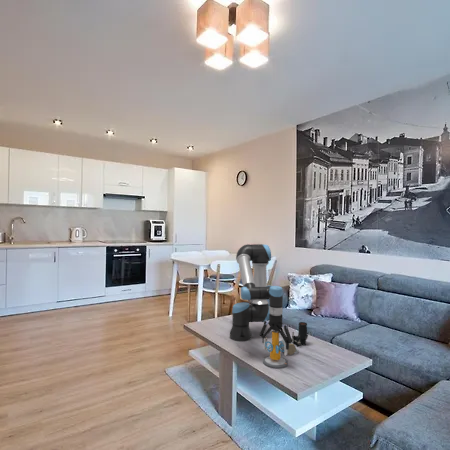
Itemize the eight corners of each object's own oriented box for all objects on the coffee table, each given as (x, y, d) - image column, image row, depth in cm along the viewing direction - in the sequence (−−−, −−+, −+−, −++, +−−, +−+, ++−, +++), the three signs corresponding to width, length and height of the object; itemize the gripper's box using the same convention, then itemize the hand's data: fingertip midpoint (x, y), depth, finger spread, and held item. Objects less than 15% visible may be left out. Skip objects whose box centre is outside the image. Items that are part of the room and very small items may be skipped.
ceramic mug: (285, 356, 182) (286, 343, 182) (279, 351, 190) (279, 338, 190) (301, 354, 185) (301, 341, 185) (294, 349, 193) (294, 337, 193)
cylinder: (263, 353, 179) (264, 328, 179) (281, 353, 180) (281, 327, 180) (268, 363, 167) (268, 335, 167) (287, 362, 168) (287, 335, 168)
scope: (291, 322, 202) (303, 320, 207) (291, 343, 202) (303, 341, 207) (299, 326, 195) (311, 324, 199) (299, 347, 195) (311, 345, 199)
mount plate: (258, 363, 172) (258, 361, 172) (269, 355, 183) (269, 353, 183) (281, 370, 164) (281, 368, 164) (291, 361, 175) (291, 359, 175)
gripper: (253, 311, 177) (253, 348, 177) (293, 319, 163) (292, 359, 163) (260, 308, 183) (259, 344, 183) (298, 316, 169) (298, 355, 169)
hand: (275, 351), depth 173 cm, fingers closed on cylinder, 12 cm apart
